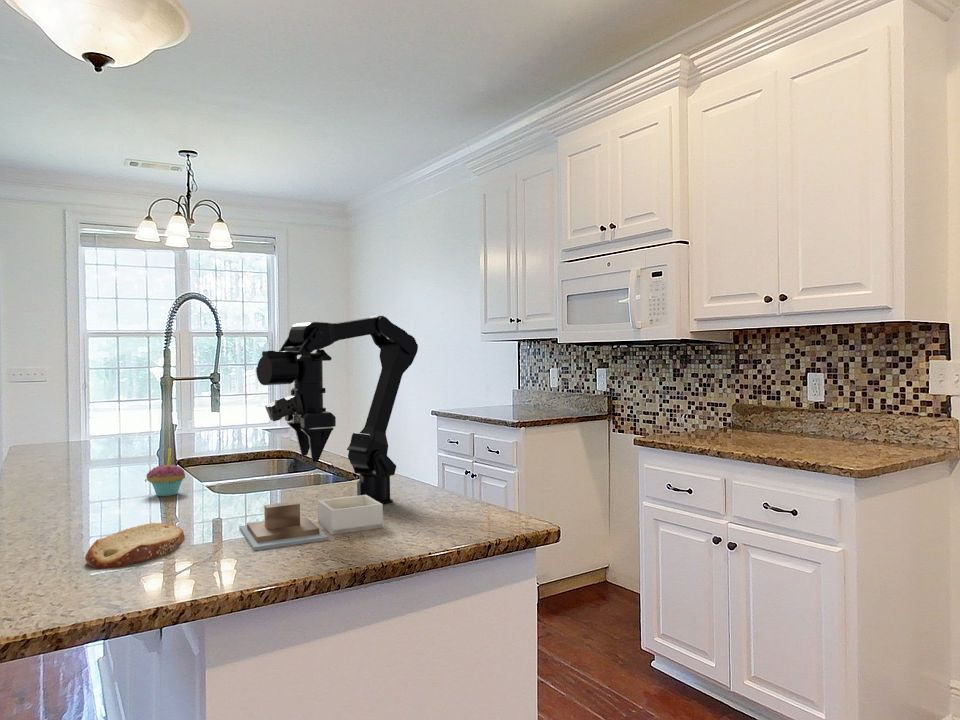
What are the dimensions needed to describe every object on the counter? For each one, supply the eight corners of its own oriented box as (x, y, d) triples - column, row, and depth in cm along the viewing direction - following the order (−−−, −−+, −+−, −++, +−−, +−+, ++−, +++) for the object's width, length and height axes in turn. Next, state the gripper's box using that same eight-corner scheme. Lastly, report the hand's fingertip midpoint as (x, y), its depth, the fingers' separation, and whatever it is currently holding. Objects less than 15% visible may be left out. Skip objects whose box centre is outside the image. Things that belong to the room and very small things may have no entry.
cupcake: (193, 492, 165) (192, 443, 164) (160, 499, 157) (159, 448, 157) (171, 489, 169) (171, 441, 169) (139, 495, 162) (138, 445, 162)
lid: (305, 520, 134) (304, 495, 134) (319, 534, 124) (318, 506, 124) (247, 528, 128) (246, 502, 128) (257, 542, 119) (256, 514, 119)
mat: (306, 520, 136) (306, 517, 136) (328, 539, 122) (328, 536, 122) (239, 529, 130) (239, 526, 130) (253, 550, 116) (253, 547, 116)
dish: (366, 516, 139) (366, 494, 139) (383, 527, 130) (382, 504, 130) (318, 522, 134) (317, 500, 134) (331, 534, 126) (331, 510, 125)
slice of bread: (171, 531, 131) (171, 512, 131) (209, 550, 118) (209, 528, 118) (65, 551, 118) (65, 530, 118) (95, 575, 105) (94, 551, 105)
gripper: (259, 382, 144) (261, 455, 144) (277, 386, 127) (279, 469, 127) (312, 381, 149) (313, 451, 149) (335, 384, 132) (337, 463, 133)
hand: (309, 458), depth 139 cm, fingers open, 9 cm apart
